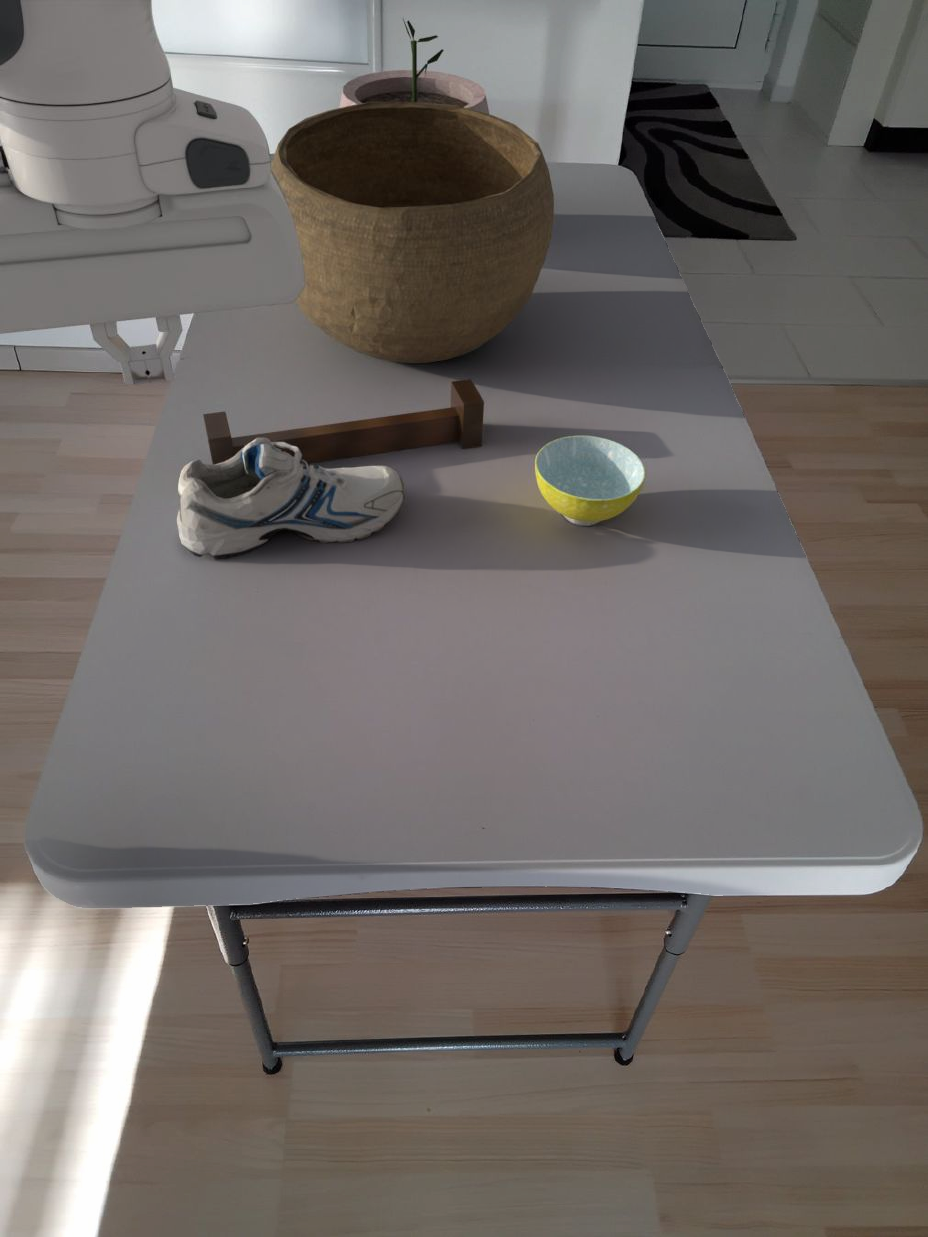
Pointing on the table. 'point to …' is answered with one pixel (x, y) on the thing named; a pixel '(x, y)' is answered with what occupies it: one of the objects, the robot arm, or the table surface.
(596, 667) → the table surface
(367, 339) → the basket
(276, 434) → the wooden rail
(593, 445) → the bowl
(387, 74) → the plant pot
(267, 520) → the athletic shoe
